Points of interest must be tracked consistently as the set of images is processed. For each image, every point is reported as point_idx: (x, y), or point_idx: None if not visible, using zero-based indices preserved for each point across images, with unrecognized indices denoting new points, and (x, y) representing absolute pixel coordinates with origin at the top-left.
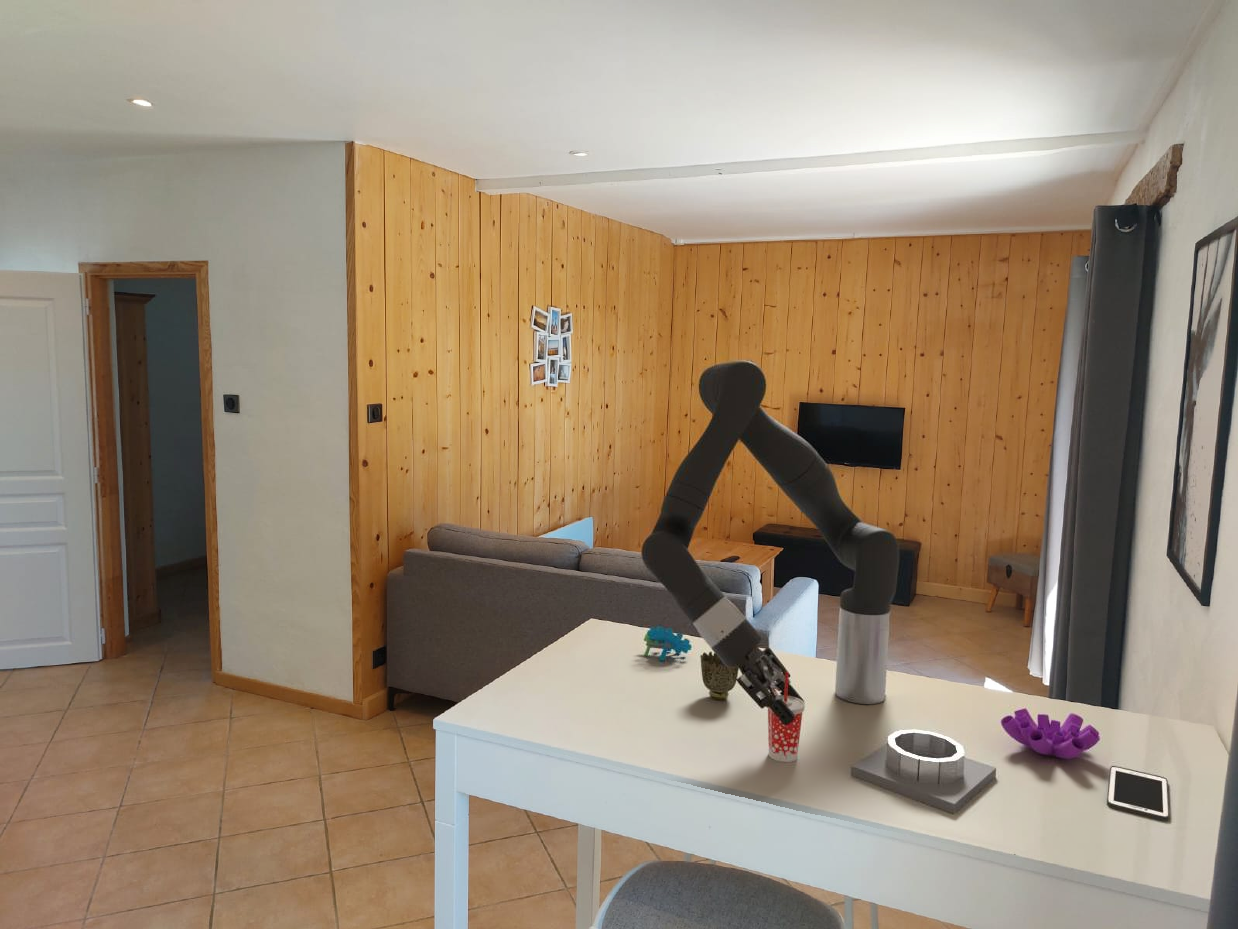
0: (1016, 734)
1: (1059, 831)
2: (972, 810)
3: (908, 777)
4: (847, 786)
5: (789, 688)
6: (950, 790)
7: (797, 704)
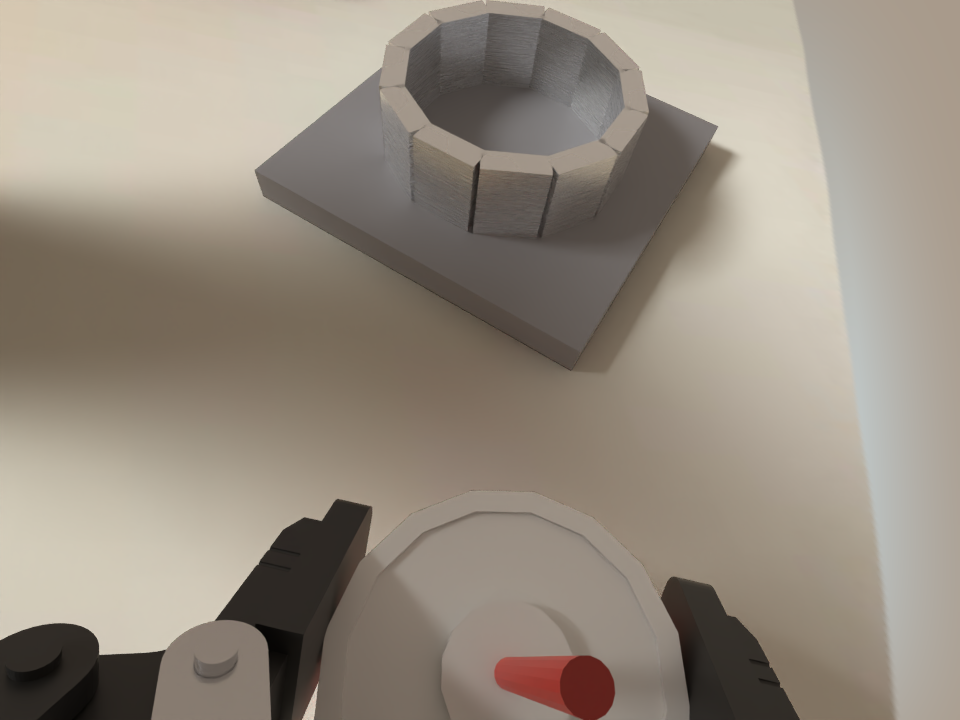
0: None
1: (679, 8)
2: None
3: (610, 194)
4: (663, 390)
5: (311, 633)
6: None
7: (507, 553)
